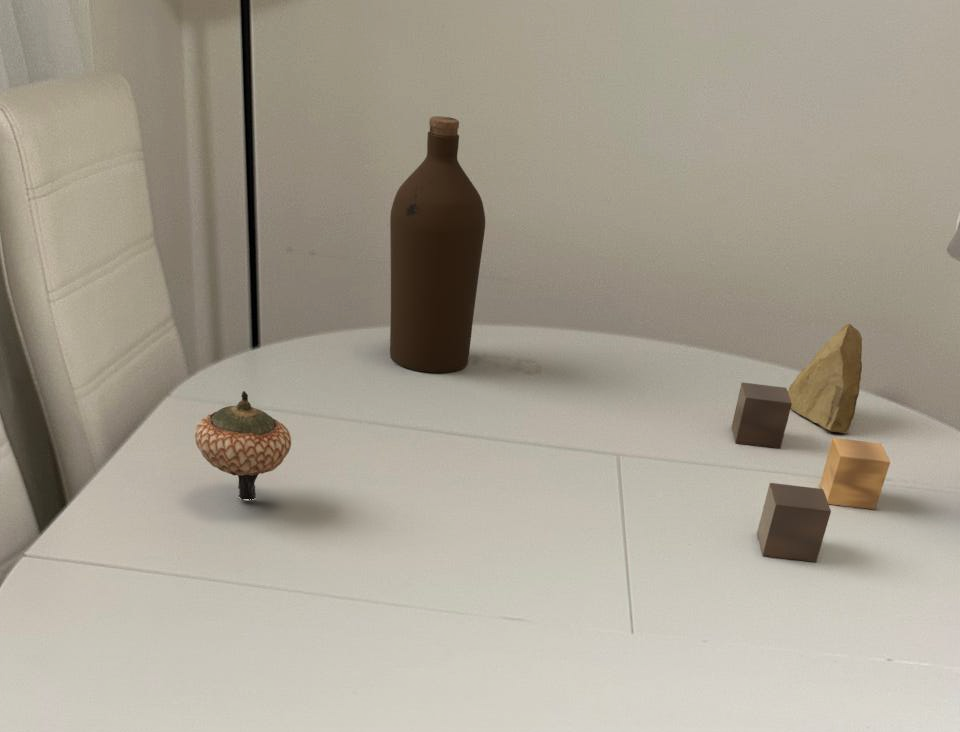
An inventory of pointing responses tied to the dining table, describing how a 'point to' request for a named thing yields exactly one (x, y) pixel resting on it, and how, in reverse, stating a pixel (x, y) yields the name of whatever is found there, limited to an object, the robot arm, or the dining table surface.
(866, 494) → the maple block
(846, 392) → the rock
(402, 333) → the olive oil
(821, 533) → the walnut block
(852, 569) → the dining table surface
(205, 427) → the acorn
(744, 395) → the walnut block
